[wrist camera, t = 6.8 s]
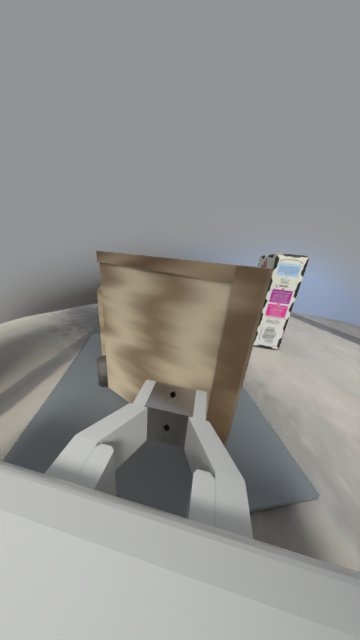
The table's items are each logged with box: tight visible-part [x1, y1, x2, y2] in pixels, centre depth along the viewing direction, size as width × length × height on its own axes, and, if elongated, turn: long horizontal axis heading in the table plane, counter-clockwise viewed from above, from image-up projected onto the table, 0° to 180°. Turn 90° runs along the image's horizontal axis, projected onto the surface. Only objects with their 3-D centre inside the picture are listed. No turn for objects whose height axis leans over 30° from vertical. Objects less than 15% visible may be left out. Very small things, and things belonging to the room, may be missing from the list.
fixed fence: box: [97, 287, 108, 387], centre depth 23 cm, size 13×2×11 cm, turn 12°
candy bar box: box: [253, 254, 310, 350], centre depth 34 cm, size 11×5×16 cm, turn 170°
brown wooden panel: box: [97, 251, 273, 448], centre depth 13 cm, size 12×2×14 cm, turn 57°
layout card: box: [3, 333, 320, 518], centre depth 21 cm, size 25×21×1 cm
